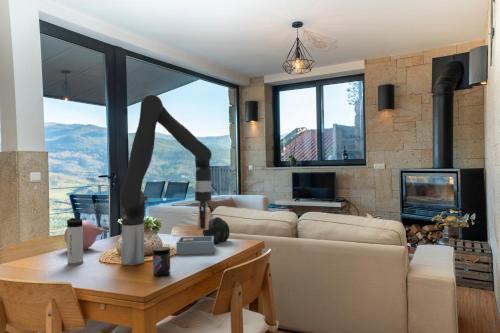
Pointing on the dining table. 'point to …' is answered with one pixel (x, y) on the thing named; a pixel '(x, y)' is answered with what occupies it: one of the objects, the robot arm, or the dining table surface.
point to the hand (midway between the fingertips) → (203, 227)
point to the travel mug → (74, 241)
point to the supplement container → (161, 261)
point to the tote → (196, 245)
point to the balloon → (88, 234)
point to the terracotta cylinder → (205, 222)
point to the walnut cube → (188, 240)
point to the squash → (217, 230)
